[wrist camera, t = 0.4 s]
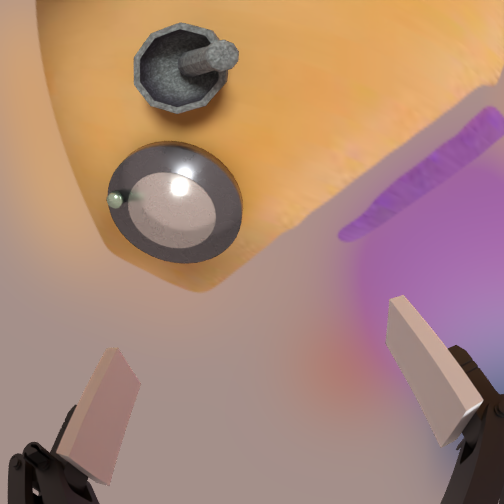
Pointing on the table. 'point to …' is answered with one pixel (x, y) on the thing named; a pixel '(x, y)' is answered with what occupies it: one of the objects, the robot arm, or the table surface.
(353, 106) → the table surface
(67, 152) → the table surface
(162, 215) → the base
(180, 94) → the mortar and pestle
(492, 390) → the robot arm
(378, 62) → the table surface
